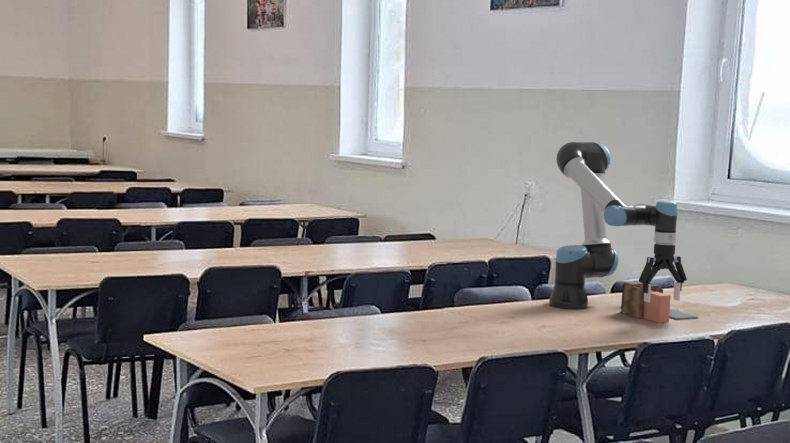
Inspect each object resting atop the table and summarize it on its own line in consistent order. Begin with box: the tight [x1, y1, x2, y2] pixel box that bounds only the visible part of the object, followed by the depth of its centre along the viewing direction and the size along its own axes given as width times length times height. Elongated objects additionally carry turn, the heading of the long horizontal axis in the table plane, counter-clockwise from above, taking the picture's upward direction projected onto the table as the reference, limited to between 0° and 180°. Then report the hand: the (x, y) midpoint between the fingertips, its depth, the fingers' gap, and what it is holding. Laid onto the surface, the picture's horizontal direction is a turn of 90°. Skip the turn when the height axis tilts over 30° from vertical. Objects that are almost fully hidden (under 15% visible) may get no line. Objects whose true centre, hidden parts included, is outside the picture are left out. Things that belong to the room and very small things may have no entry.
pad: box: [669, 309, 699, 321], centre depth 374 cm, size 14×10×1 cm
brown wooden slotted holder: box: [620, 280, 660, 319], centre depth 373 cm, size 11×8×12 cm
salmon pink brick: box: [642, 290, 672, 324], centre depth 365 cm, size 13×4×10 cm, turn 24°
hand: (661, 301), depth 361 cm, fingers open, 13 cm apart
